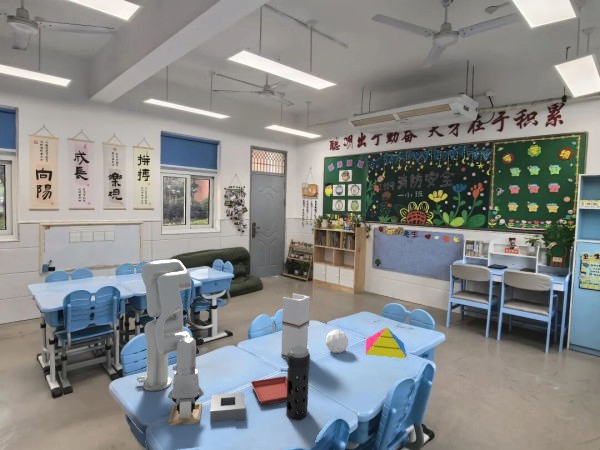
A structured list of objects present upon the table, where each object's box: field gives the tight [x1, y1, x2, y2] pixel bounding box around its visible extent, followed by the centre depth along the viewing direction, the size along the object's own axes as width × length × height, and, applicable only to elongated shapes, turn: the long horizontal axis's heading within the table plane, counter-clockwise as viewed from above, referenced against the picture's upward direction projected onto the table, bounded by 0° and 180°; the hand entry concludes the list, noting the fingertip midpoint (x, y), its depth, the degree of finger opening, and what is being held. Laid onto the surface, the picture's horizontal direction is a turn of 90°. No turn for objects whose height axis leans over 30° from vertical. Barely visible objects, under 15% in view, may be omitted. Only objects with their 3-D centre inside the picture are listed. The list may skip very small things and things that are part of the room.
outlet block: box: [209, 392, 246, 423], centre depth 151 cm, size 14×12×5 cm
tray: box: [167, 401, 203, 427], centre depth 148 cm, size 12×12×2 cm
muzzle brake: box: [285, 346, 311, 421], centre depth 152 cm, size 10×28×10 cm
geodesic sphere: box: [325, 329, 349, 354], centre depth 215 cm, size 14×14×14 cm
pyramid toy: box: [365, 327, 407, 359], centre depth 222 cm, size 25×25×14 cm
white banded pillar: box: [280, 292, 311, 360], centre depth 206 cm, size 11×11×35 cm
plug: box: [180, 398, 192, 419], centre depth 148 cm, size 4×4×8 cm
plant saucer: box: [250, 375, 292, 406], centre depth 168 cm, size 18×18×3 cm
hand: (185, 411), depth 148 cm, fingers closed on plug, 4 cm apart
